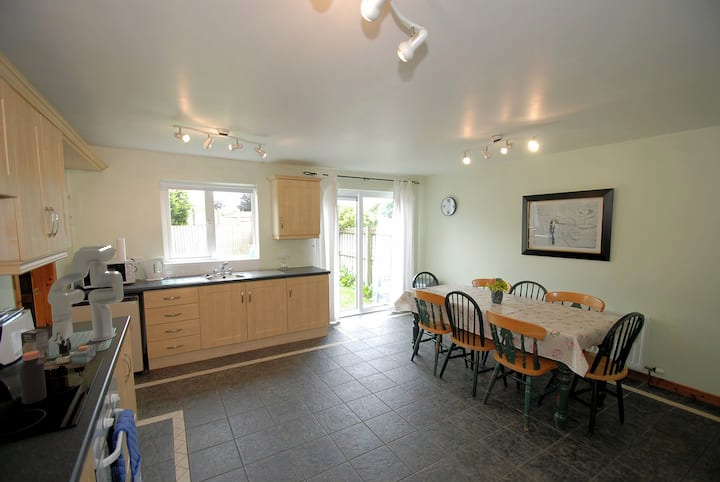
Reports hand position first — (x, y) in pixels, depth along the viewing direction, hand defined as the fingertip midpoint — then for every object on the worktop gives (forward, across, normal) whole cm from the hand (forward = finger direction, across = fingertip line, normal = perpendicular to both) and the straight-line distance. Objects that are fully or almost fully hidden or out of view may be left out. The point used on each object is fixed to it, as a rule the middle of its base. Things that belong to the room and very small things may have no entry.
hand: (65, 351), depth 157 cm
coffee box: (+7, -16, -18) cm, 25 cm away
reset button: (+2, 0, +7) cm, 8 cm away
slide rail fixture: (+7, 0, -1) cm, 7 cm away
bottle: (+7, +36, +3) cm, 37 cm away
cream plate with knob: (+4, 0, 0) cm, 4 cm away
